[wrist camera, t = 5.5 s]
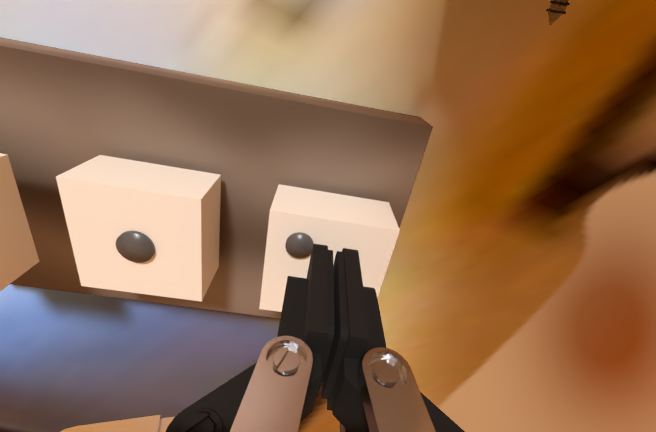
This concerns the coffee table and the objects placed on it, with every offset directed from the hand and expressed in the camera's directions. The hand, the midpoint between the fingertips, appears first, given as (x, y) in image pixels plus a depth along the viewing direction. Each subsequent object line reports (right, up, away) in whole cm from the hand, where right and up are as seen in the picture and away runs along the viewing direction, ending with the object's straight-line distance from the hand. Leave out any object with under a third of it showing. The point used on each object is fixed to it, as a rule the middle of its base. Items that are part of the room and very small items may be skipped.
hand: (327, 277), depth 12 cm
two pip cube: (0, +1, +3) cm, 4 cm away
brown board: (-8, +3, +5) cm, 10 cm away
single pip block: (-7, +2, +3) cm, 8 cm away
